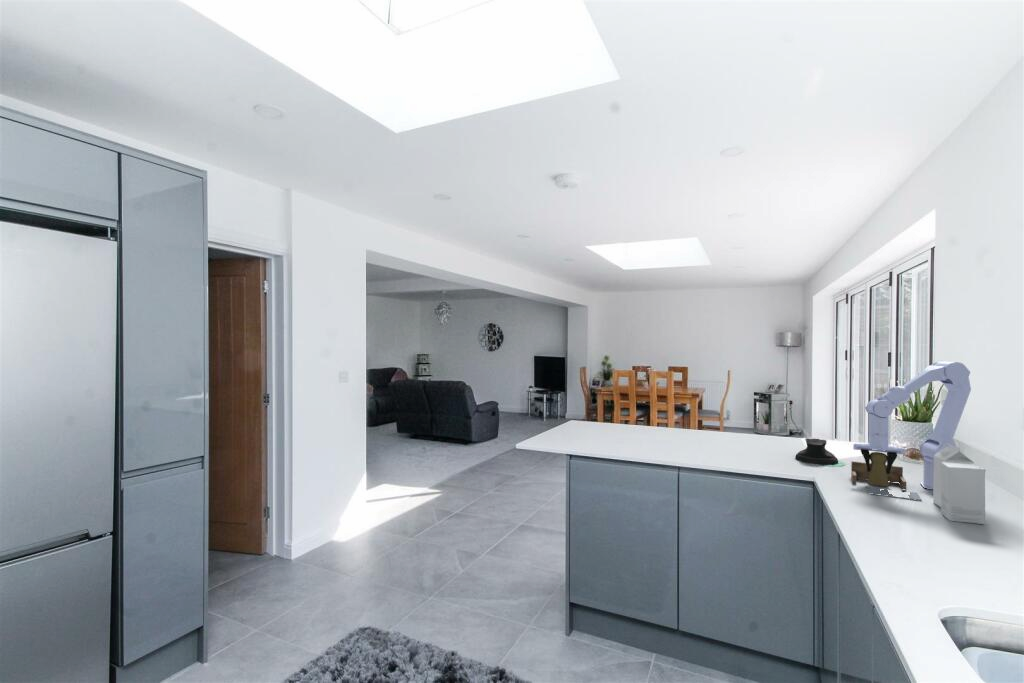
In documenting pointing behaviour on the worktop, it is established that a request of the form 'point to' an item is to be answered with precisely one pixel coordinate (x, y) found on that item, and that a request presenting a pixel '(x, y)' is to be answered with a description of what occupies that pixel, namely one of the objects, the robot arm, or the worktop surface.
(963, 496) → the skincare box
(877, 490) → the slate mat
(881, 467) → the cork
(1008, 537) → the worktop surface
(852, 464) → the walnut bay
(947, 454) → the milk carton
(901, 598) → the worktop surface
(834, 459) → the black knob handle
